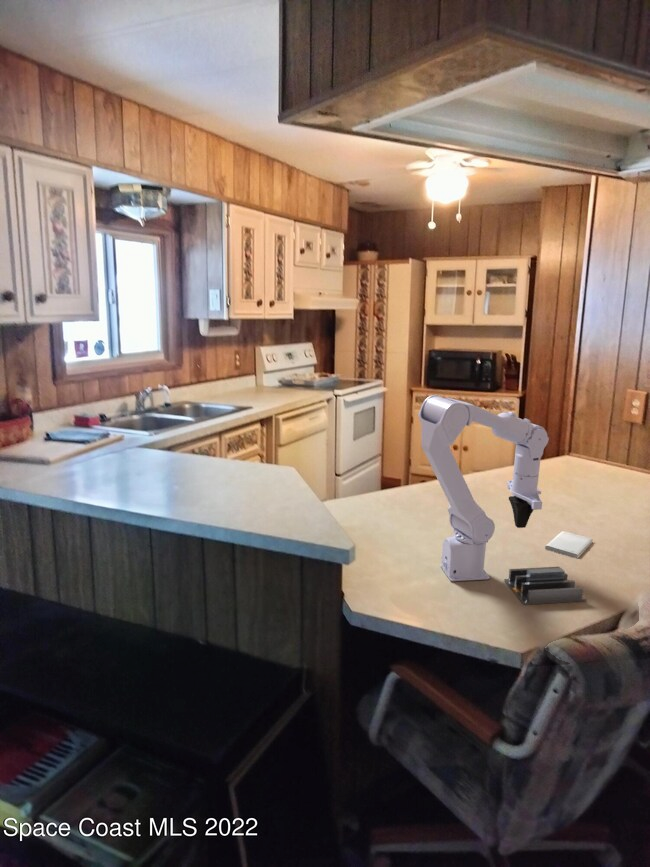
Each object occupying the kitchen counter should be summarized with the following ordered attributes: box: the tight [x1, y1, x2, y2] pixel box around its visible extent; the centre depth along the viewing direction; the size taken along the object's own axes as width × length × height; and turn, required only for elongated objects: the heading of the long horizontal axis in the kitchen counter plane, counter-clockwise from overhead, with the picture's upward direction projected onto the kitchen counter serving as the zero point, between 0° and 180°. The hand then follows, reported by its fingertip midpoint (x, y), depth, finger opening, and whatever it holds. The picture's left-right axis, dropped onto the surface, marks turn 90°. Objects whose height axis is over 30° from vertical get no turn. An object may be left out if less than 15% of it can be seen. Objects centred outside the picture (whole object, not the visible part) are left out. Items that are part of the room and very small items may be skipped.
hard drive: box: [544, 530, 593, 559], centre depth 159 cm, size 2×8×12 cm
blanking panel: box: [526, 567, 566, 583], centre depth 135 cm, size 8×2×4 cm, turn 97°
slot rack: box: [503, 566, 587, 606], centre depth 135 cm, size 14×10×3 cm
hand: (520, 526), depth 147 cm, fingers closed
